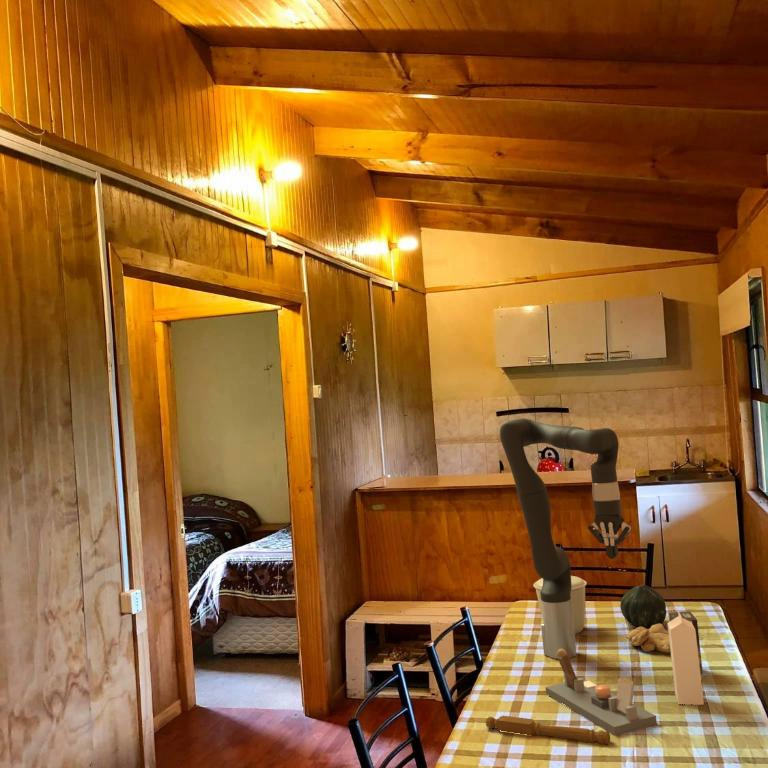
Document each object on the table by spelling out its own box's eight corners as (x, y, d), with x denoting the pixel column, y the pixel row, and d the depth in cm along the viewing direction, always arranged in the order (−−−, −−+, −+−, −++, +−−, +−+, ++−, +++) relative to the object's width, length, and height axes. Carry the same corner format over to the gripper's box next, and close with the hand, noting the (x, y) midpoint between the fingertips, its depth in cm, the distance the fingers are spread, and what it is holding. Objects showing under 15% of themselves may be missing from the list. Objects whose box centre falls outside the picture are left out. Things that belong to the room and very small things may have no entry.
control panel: (583, 685, 203) (581, 666, 204) (656, 724, 175) (654, 702, 175) (546, 694, 199) (544, 675, 199) (615, 735, 171) (612, 714, 171)
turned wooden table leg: (606, 734, 166) (483, 718, 181) (608, 747, 166) (484, 731, 181) (609, 728, 169) (487, 713, 183) (611, 742, 169) (489, 726, 183)
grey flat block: (618, 707, 180) (621, 678, 181) (631, 714, 175) (634, 684, 176) (615, 707, 180) (618, 678, 181) (628, 714, 175) (631, 684, 176)
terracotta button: (605, 691, 187) (604, 683, 187) (613, 696, 183) (612, 688, 184) (593, 694, 186) (592, 686, 186) (601, 699, 182) (600, 691, 182)
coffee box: (704, 679, 199) (697, 619, 200) (679, 680, 201) (673, 620, 201) (697, 667, 208) (690, 610, 209) (673, 668, 210) (667, 611, 210)
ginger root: (626, 634, 239) (629, 611, 238) (677, 649, 232) (681, 624, 232) (619, 652, 225) (622, 627, 224) (673, 667, 218) (677, 642, 217)
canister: (550, 621, 266) (544, 563, 267) (599, 626, 255) (592, 565, 256) (529, 636, 251) (523, 574, 252) (580, 641, 240) (573, 577, 241)
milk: (678, 705, 185) (668, 617, 186) (675, 695, 191) (665, 610, 192) (704, 705, 183) (693, 616, 184) (700, 695, 189) (690, 609, 190)
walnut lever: (574, 681, 198) (560, 645, 198) (581, 684, 196) (566, 648, 195) (567, 685, 198) (552, 650, 197) (573, 689, 195) (559, 653, 194)
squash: (638, 599, 264) (621, 574, 258) (678, 606, 253) (662, 580, 246) (625, 633, 257) (607, 608, 250) (666, 642, 246) (649, 616, 239)
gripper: (579, 499, 212) (585, 559, 211) (623, 499, 203) (630, 562, 203) (590, 496, 218) (596, 554, 217) (633, 496, 209) (640, 556, 208)
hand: (612, 558), depth 210 cm, fingers closed
